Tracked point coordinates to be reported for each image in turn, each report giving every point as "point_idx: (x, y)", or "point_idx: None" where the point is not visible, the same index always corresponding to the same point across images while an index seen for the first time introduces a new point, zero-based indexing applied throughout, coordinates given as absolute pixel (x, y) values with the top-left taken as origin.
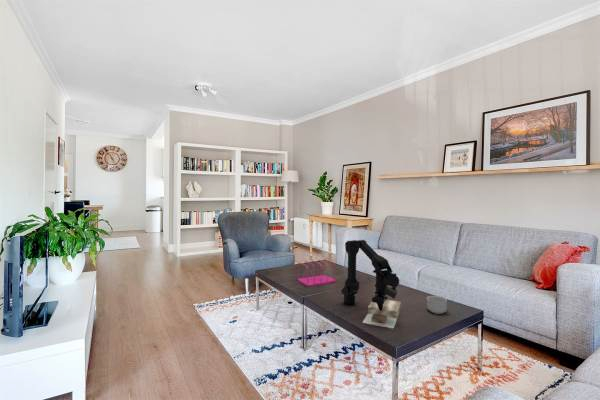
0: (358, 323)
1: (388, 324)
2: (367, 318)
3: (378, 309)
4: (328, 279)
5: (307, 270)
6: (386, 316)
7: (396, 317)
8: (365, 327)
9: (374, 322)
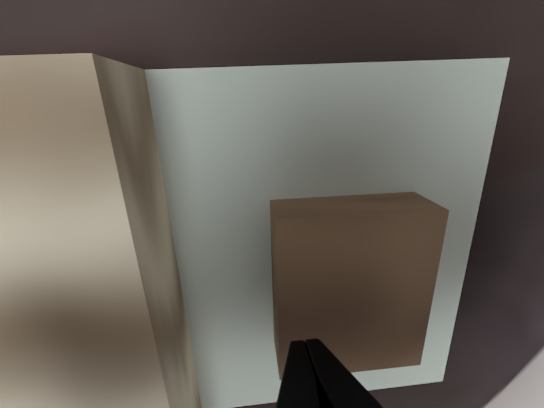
0: (458, 394)
1: (418, 145)
2: None
3: (170, 383)
4: None
5: None
6: (307, 218)
7: (141, 80)
8: (527, 327)
9: None
